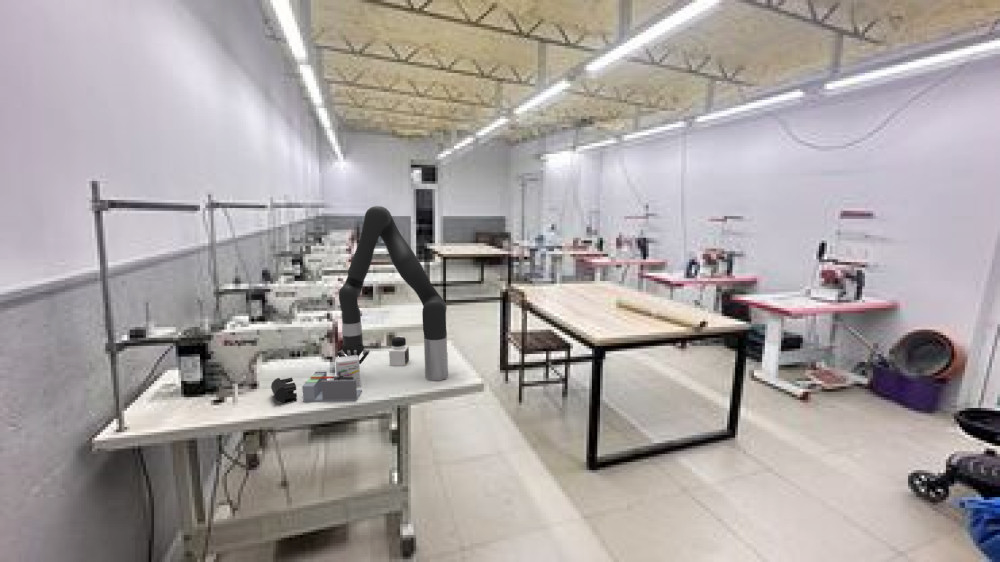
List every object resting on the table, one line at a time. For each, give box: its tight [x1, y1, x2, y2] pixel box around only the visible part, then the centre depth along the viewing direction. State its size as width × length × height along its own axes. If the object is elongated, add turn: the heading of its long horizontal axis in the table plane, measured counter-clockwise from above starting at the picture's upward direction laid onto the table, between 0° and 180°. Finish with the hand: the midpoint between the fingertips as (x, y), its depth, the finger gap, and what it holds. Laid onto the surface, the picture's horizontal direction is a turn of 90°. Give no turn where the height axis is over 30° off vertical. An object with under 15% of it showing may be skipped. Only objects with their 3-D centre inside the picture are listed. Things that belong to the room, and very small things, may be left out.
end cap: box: [270, 377, 298, 405], centre depth 158 cm, size 10×7×7 cm
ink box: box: [335, 355, 362, 388], centre depth 168 cm, size 8×5×12 cm, turn 114°
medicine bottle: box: [388, 335, 410, 367], centre depth 193 cm, size 7×7×12 cm
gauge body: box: [301, 371, 363, 403], centre depth 162 cm, size 19×14×8 cm
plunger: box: [310, 375, 354, 380], centre depth 162 cm, size 15×4×6 cm, turn 93°
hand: (354, 373), depth 176 cm, fingers closed
